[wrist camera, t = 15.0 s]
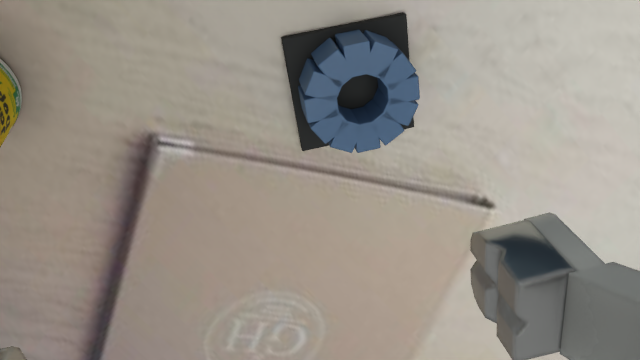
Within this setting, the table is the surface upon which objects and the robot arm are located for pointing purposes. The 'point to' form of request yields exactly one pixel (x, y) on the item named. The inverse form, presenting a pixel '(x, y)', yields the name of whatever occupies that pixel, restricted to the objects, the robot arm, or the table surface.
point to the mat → (353, 90)
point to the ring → (339, 67)
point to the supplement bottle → (8, 100)
